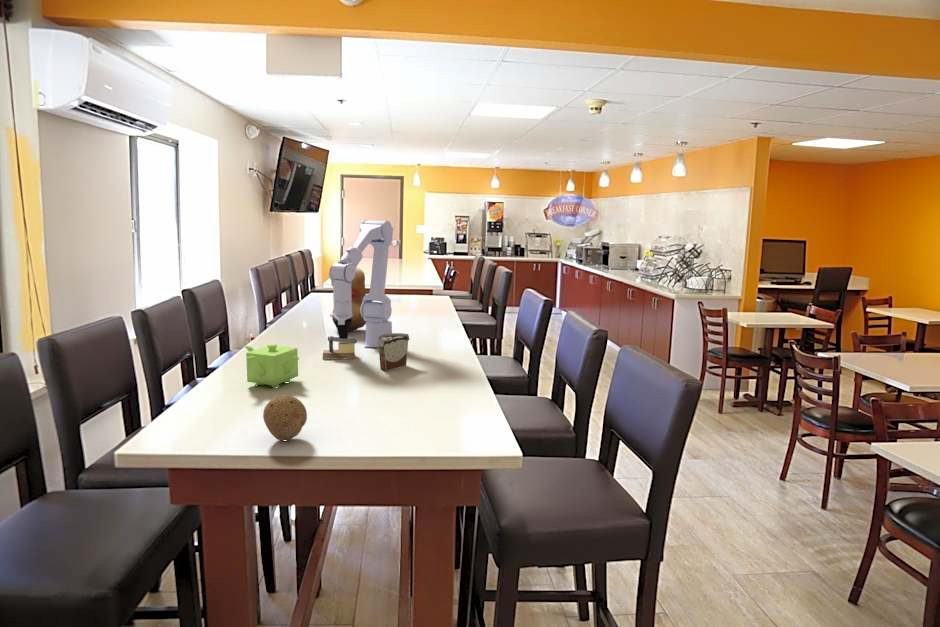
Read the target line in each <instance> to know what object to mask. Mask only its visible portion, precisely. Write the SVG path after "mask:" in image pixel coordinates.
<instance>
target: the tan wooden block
mask: <svg viewBox="0 0 940 627" xmlns="http://www.w3.org/2000/svg"><path fill="white" fill-rule="evenodd" d="M337 344H338V346H337V347H338V349H337V350H338V353H354V351H356V350H355V349H356V348H355V344H356V343H346V342H338V343H337Z"/></svg>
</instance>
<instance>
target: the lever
mask: <svg viewBox="0 0 940 627" xmlns="http://www.w3.org/2000/svg"><path fill="white" fill-rule="evenodd" d="M329 341H333V342H337V343H339V342H346V343H355V344H357V343H358V339H357V338H351V337H348V338H339V336H333V335H332V336H327V342H329Z"/></svg>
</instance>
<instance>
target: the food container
mask: <svg viewBox="0 0 940 627" xmlns="http://www.w3.org/2000/svg"><path fill="white" fill-rule="evenodd" d="M409 341H410V334H409V333H402V332H401V333H399V332H397V333H395V332H394V333H393V332H392V333H390V334H383V335H380V336H378V338H377V342H376V345H378V347H377V348H378V355H379V357H378V358H379V366H380V367H379V368H380V371H382V372H387V373H388V372H390V371H393V370H397V369H400V368H404V367H407V363H408V362H407V359H408V347H409Z"/></svg>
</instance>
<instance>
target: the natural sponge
mask: <svg viewBox="0 0 940 627" xmlns="http://www.w3.org/2000/svg"><path fill="white" fill-rule="evenodd" d="M262 418H263V421H264V425H265V427H266V428H267V430H268V431H269V433H270V434H271V435H272V436H273V437H274V438H275V439H277V440H278V441H281V440H288V441H290V440H292V439H293V438H295V437H297V436H298V435H299V434H300V433H301V431H302V429H303V427H304V426H305V425H306V423H307V419H308V412H307V408H306V407H305V404H304V403H303V402H302V401H301V400H299V399H298V398H297V397H295V396H293V395H290V394H280V395H277V396H276V397H273V398H272V399H271V400H269V402H267V404H266V405H265V406H264V409H263V413H262Z"/></svg>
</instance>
